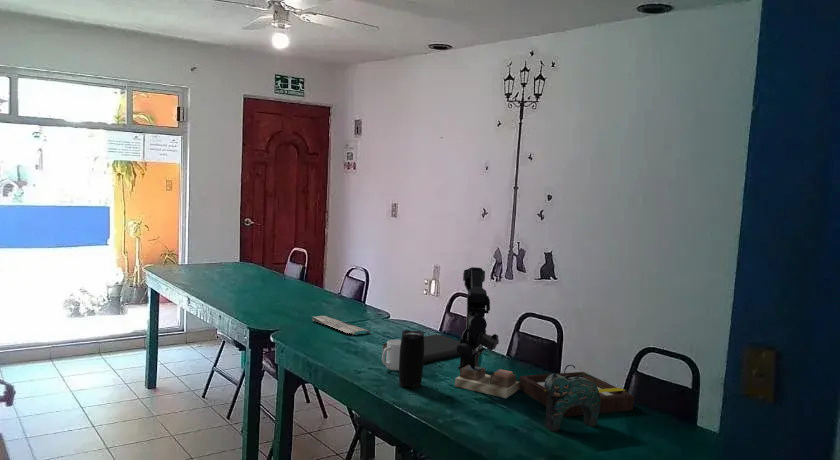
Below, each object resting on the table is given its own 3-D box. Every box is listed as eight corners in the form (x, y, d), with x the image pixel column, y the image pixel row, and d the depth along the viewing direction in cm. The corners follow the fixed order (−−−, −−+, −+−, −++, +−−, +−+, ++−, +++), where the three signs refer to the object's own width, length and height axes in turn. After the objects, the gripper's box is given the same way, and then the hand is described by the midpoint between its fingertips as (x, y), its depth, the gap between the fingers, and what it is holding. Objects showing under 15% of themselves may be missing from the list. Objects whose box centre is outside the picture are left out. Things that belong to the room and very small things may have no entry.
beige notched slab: (370, 334, 306) (371, 327, 305) (349, 337, 297) (349, 330, 297) (327, 320, 331) (327, 313, 331) (307, 322, 323) (307, 315, 323)
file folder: (436, 333, 299) (475, 345, 282) (435, 342, 299) (475, 355, 282) (382, 342, 276) (421, 356, 259) (381, 352, 276) (420, 366, 259)
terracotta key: (493, 380, 230) (494, 372, 230) (499, 377, 234) (499, 369, 234) (507, 383, 227) (507, 375, 227) (512, 379, 232) (512, 371, 232)
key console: (454, 386, 234) (455, 370, 233) (469, 378, 244) (470, 363, 244) (506, 398, 224) (507, 381, 224) (518, 389, 234) (520, 373, 234)
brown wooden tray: (635, 392, 220) (560, 398, 208) (634, 411, 220) (559, 418, 209) (585, 368, 246) (516, 373, 234) (583, 385, 246) (515, 390, 235)
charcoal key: (463, 376, 236) (463, 368, 236) (469, 373, 240) (469, 365, 240) (475, 379, 233) (476, 371, 233) (481, 376, 238) (482, 368, 238)
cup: (411, 368, 253) (412, 343, 252) (389, 373, 244) (390, 347, 244) (396, 363, 259) (398, 338, 258) (374, 368, 250) (375, 342, 249)
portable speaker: (422, 382, 236) (425, 329, 235) (421, 390, 227) (424, 336, 225) (399, 380, 236) (402, 328, 235) (396, 388, 227) (400, 334, 226)
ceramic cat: (548, 433, 194) (553, 368, 192) (536, 426, 200) (541, 362, 198) (602, 427, 202) (607, 364, 200) (588, 419, 208) (593, 358, 206)
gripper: (485, 334, 223) (482, 378, 225) (506, 325, 240) (503, 366, 241) (456, 329, 229) (454, 372, 230) (478, 320, 245) (476, 361, 246)
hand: (473, 368), depth 237 cm, fingers closed, pressing on charcoal key
